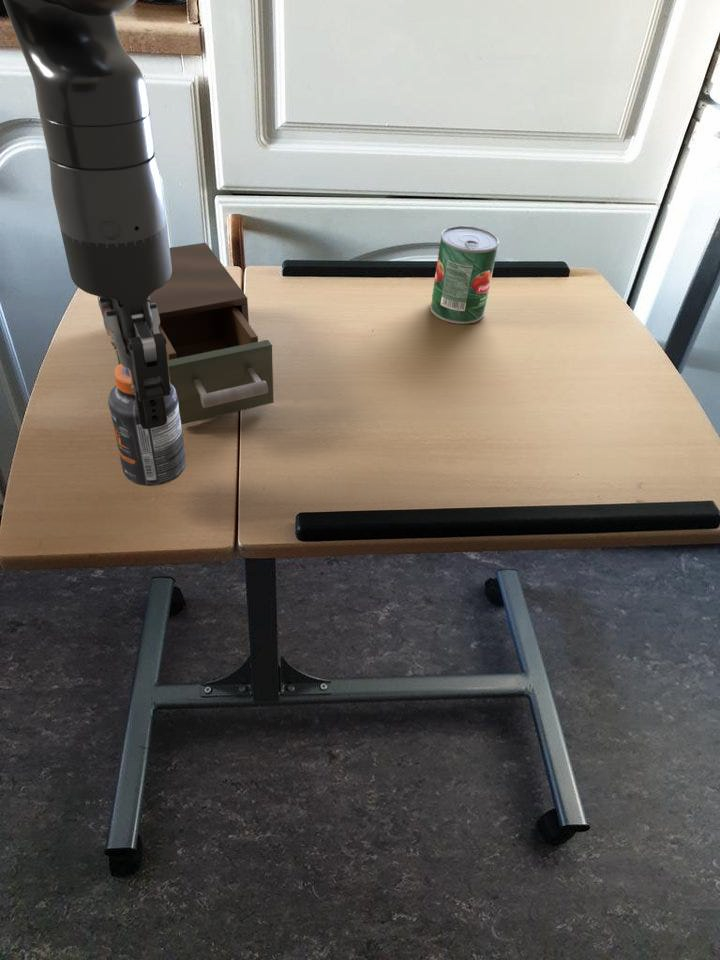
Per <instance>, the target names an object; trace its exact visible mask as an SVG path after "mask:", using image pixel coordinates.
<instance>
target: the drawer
mask: <svg viewBox="0 0 720 960" xmlns="http://www.w3.org/2000/svg"><path fill="white" fill-rule="evenodd" d="M159 332H160V333H163V336H164V337H165V338H166V342H167V344H166V352H167V362H168V373H169V382H170V383H171V384H172V385H173V386H174V388H175V390H176V392H177V397H178V406H179V413H180V421H181V426H182V425H187V424H191V423H194V422H198V421H204V420H207V419H211V418H212V419H213V418H215V417H219V416H224V415H228V414H232V413H236V412H240V411H244V410H245V411H246V410H249V409H253V408H257V407H261V406H265V405H270V404H273V403H274V373H273V372H274V371H273V368H274V367H273V366H274V365H273V344H272V343H271V342H270V340H269V339H265V340H260V341H259V336H258V334H257V333H256V332H255V330H254V329H253V328H252V326H251V325H250V323H249V324H248V322H247V321H246V319H245V318H244V317H243V315H242V314H241V313H240V311H239V310H238V308H237V307H236V306H231V307H226V308H220V309H215V310H209V311H204V312H198V313H193V314H187V315H182V316H176V317H171V318H165V319H160V324H159Z"/></svg>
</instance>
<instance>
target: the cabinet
mask: <svg viewBox="0 0 720 960" xmlns="http://www.w3.org/2000/svg"><path fill="white" fill-rule="evenodd" d="M170 255H171V264H172V274H171V277H170V279H169V281H168V282H167V283H166V284H165V285H164V286H162V287H161V288H159V289H157V290H156V291H154V292H153V293H152V294H151V295H150V300H151V303H156V305H157V309H158V313H159V317H160V319H165V318H171V317H176V316H182V315H187V314H193V313H198V312H204V311H209V310H215V309H220V308H226V307H231V306H236V307H237V308H238V310H239V311H240V313H241V314H242V315H243V317H244V318H245V319H246V321H247V322H248V324H249V325H250V321H249V305H248V304H249V303H248V302H249V301H248V300H249V299H248V296H247V295H246V293H245V292H244V291H243V290H242V288H240V286H239V285H238V283H237V282H236V280H235V279H234V278H233V276H231V274H230V273H229V271H228V270H227V268H226V267H225V266H224V265H223V263H222V262H221V261H220V259H219V258H218V257H217V255H216V254H215V253H214V251H213V250H212V249H211V248H210V246H209V244H207V242H200V243H193V244H192V243H191V244H186V245H178V246H173V247H172V246H171V247H170Z"/></svg>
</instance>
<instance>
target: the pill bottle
mask: <svg viewBox="0 0 720 960" xmlns="http://www.w3.org/2000/svg"><path fill="white" fill-rule="evenodd" d="M114 379H115V385H114V386H113V387H112V388H111V390H110V392H109V394H108V402H107V403H108V408H109V413H110V417H111V422H112V426H113V431H114V436H115V441H116V446H117V450H118V455H119V460H120V465H121V470H122V473H123V475H124V477H125V478H126V479H127V480H129V481H130V482H132V483H134V484H136V485H139V486H144V487H157V486H163V485H166V484H169V483H171V482H173V481H174V480H176V479H178V478H179V477H180V476H181V475H182V473H183V472H184V471H185V468H186V464H187V461H186V451H185V442H184V441H185V440H184V436H183V435H184V434H183V429H182V427H183V426H182V425H181V421H180V413H179V406H178V397H177V392H176V390H175V388H174V386H173V385H172V384H171V383H170V382H169V384H170V387H171V390H170V395H168V396H164V402H165V409H166V416H167V423H166V424H165V425H163V426H159V427H154V428H150V429H143V428H142V426H141V424H140V422H139V417H138V411H137V405H136V400H135V394H134V392H132V389H131V386H132V383H131V379H130V375H129V371H128V368H125V367H124V366H122V365H121V364H118V365H117V366H116V367H115V369H114Z"/></svg>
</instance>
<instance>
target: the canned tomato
mask: <svg viewBox="0 0 720 960" xmlns="http://www.w3.org/2000/svg"><path fill="white" fill-rule="evenodd" d="M499 245H500V240H499V238H498V236H497V235H496V234H495V233H494V232H492V231H489V230H487V229H485V228H482V227H478V226H472V225H455V226H450V227H447V228H445V229H443V231H442V232H441V233H440V243H439V246H438V247H439V248H438V254H437V262H436V268H435V274H434V283H433V288H432V294H431V302H430V307H429V308H430V311H431V313H432V314H433V315H434V316H435V317H437V318H438V319H440V320H442V321H444V322H446V323H447V322H448V323H451V324H456V325H457V324H458V325H468V324H473V323H477V322H478V321H480V320H482V319H483V318H484V316H485V309H486V306H487V301H488V298H489V297H488V295H489V293H490V287H491V283H492V277H493V273H494V268H495V263H496V258H497V253H498V247H499Z"/></svg>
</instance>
